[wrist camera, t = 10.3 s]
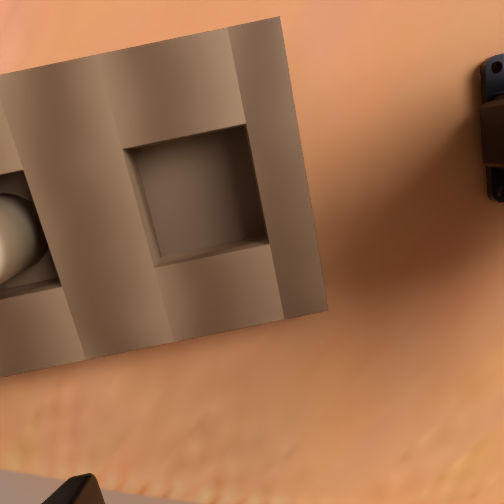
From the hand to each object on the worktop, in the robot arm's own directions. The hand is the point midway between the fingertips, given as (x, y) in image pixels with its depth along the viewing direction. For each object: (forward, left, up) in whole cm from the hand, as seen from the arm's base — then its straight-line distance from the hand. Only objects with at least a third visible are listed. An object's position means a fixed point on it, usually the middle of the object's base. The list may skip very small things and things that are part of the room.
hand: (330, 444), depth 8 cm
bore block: (+7, -4, -13) cm, 15 cm away
